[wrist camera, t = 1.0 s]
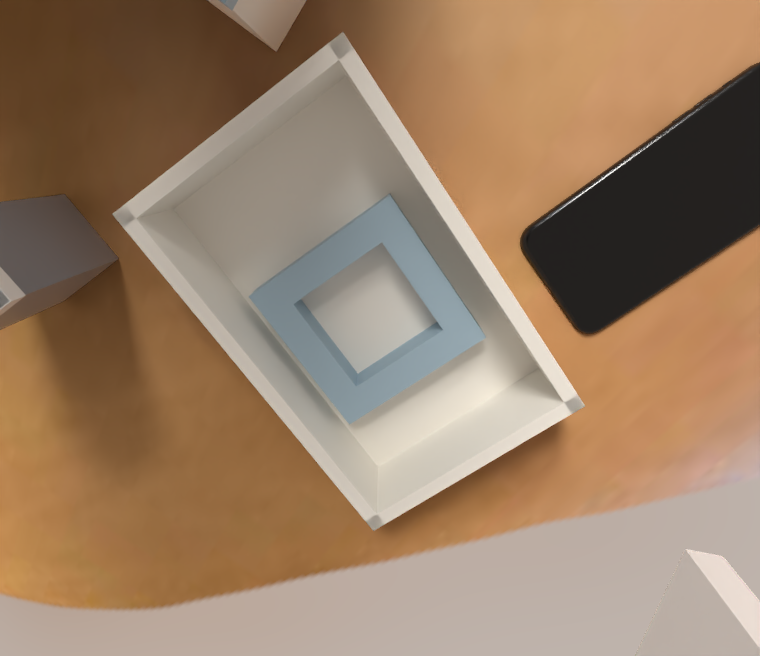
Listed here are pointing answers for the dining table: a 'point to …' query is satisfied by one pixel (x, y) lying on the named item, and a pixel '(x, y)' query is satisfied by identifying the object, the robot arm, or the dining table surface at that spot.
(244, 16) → the cream plug
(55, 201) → the grey plug
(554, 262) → the smartphone
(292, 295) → the tray box
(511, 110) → the dining table surface
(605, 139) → the dining table surface
